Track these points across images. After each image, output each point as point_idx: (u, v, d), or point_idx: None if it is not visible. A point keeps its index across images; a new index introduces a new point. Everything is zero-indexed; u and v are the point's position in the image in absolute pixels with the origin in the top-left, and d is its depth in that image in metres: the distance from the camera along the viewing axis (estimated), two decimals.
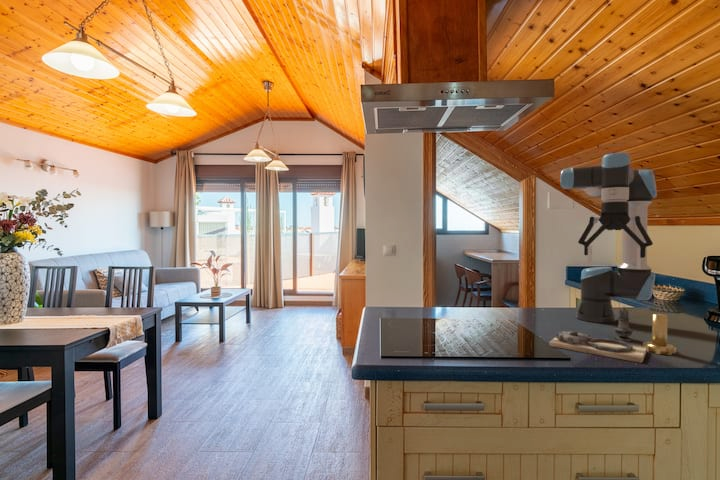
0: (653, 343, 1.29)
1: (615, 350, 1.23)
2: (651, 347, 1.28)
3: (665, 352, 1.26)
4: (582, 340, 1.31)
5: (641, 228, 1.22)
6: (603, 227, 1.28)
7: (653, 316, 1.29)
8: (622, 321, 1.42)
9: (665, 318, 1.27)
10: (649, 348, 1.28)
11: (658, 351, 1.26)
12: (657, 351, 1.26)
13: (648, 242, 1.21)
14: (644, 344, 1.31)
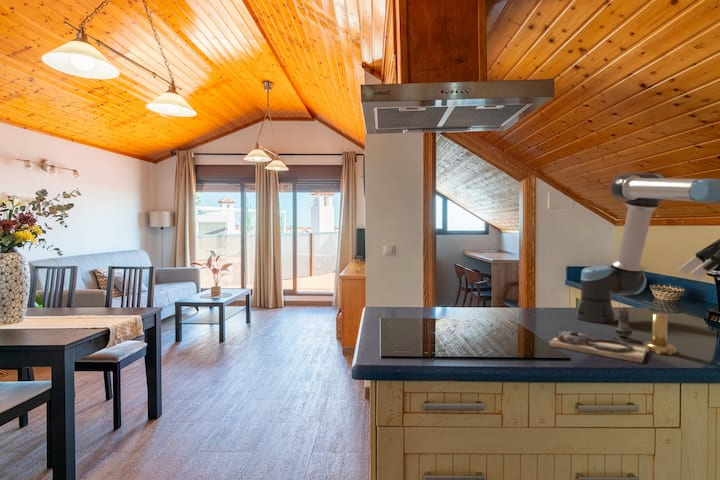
0: (653, 343, 1.29)
1: (615, 350, 1.23)
2: (651, 347, 1.28)
3: (665, 352, 1.26)
4: (582, 340, 1.31)
5: None
6: None
7: (653, 316, 1.29)
8: (622, 321, 1.42)
9: (665, 318, 1.27)
10: (649, 348, 1.28)
11: (658, 351, 1.26)
12: (657, 351, 1.26)
13: None
14: (644, 344, 1.31)
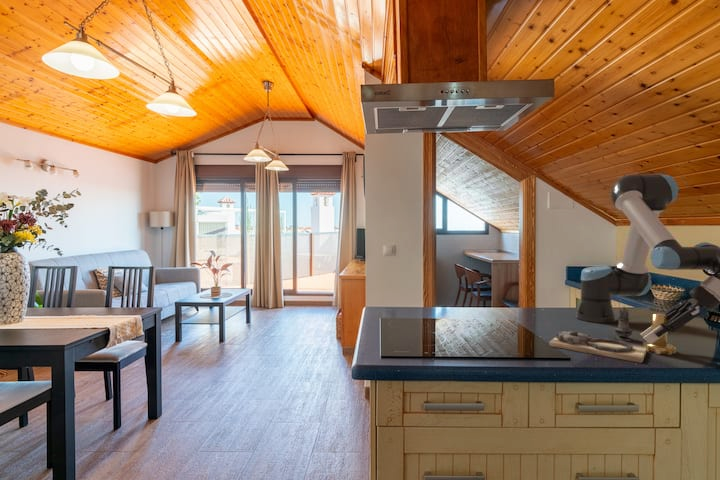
0: (653, 343, 1.29)
1: (615, 350, 1.23)
2: (651, 347, 1.28)
3: (665, 352, 1.26)
4: (582, 340, 1.31)
5: None
6: None
7: (653, 316, 1.29)
8: (622, 321, 1.42)
9: (665, 318, 1.27)
10: (649, 348, 1.28)
11: (658, 351, 1.26)
12: (657, 351, 1.26)
13: None
14: (644, 344, 1.31)
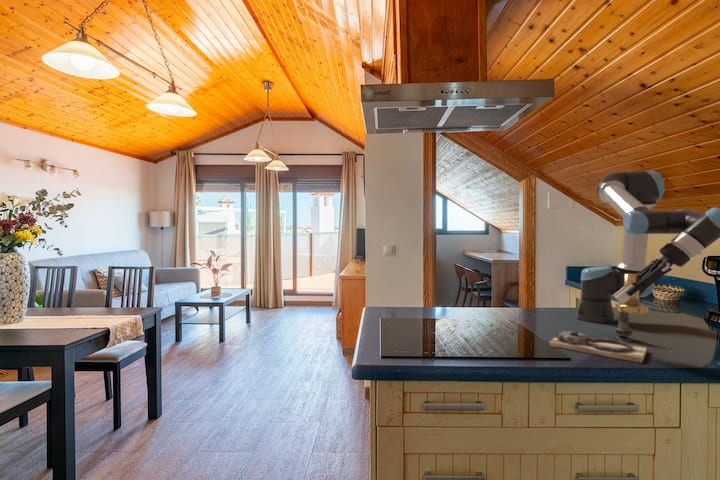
0: (625, 303, 1.27)
1: (615, 350, 1.23)
2: (623, 307, 1.26)
3: (637, 311, 1.24)
4: (582, 340, 1.31)
5: None
6: None
7: (625, 276, 1.27)
8: (622, 321, 1.42)
9: (637, 277, 1.25)
10: (621, 308, 1.26)
11: (630, 310, 1.24)
12: (629, 310, 1.24)
13: None
14: (616, 305, 1.29)
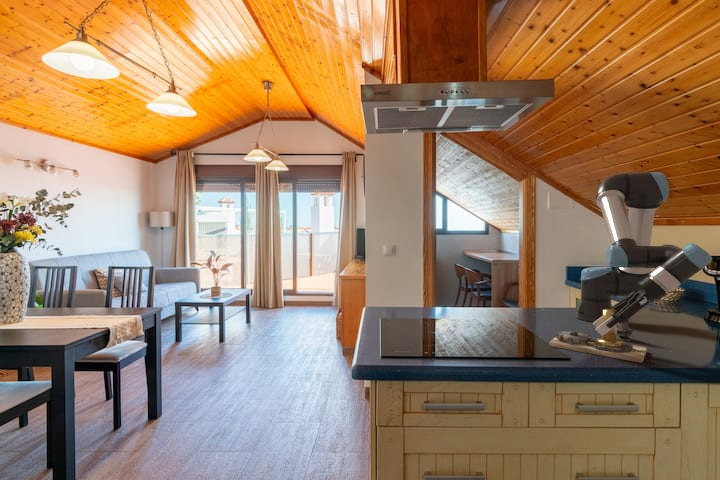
0: (603, 339, 1.29)
1: (615, 350, 1.23)
2: (601, 343, 1.28)
3: (614, 347, 1.26)
4: (582, 340, 1.31)
5: None
6: None
7: (603, 312, 1.29)
8: None
9: (614, 313, 1.27)
10: (599, 344, 1.28)
11: (607, 346, 1.26)
12: (606, 346, 1.26)
13: None
14: (595, 340, 1.31)
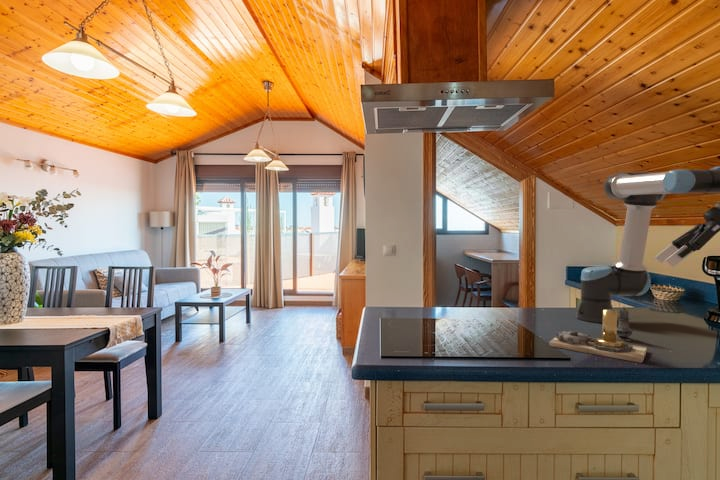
0: (603, 339, 1.29)
1: (615, 350, 1.23)
2: (601, 342, 1.28)
3: (614, 347, 1.26)
4: (582, 340, 1.31)
5: None
6: None
7: (603, 312, 1.29)
8: (622, 321, 1.42)
9: (614, 313, 1.27)
10: (599, 343, 1.28)
11: (607, 346, 1.26)
12: (606, 346, 1.26)
13: None
14: (595, 340, 1.31)
